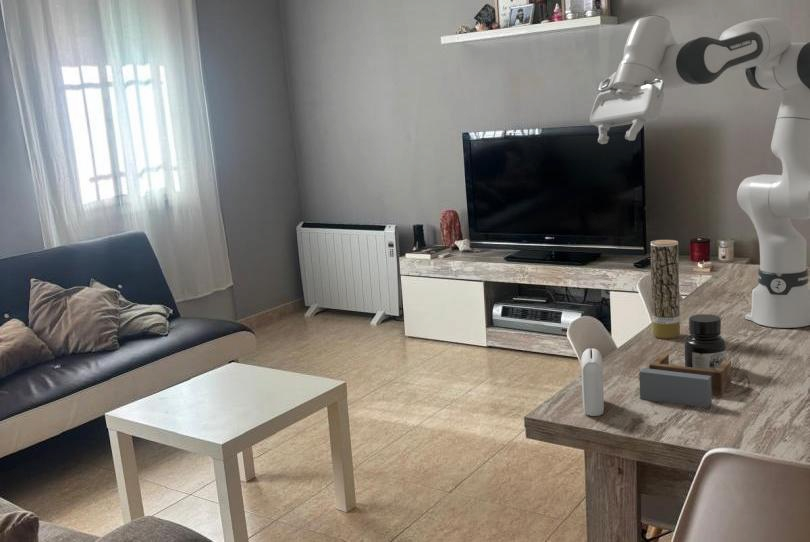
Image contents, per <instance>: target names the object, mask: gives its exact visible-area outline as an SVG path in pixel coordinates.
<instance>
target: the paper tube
mask: <svg viewBox="0 0 810 542" xmlns="http://www.w3.org/2000/svg"><path fill="white" fill-rule="evenodd" d="M679 260H680V259H679V241H678V240H675V239H655V240H652V241H650V276H651V309H652V310H651V313H652V315H651V316H652V319H651V320H652V335H653V336H654V337H656V338H657V339H666V340H667V339H668V340H669V339H674V338H676V339H677V337H679V336H680V334H681V328H680V327H681V323H680V322H681V321H680V320H681V318H680V313H681V312H680V311H681V310H680V308H681V306H680V272H679V271H680V269H679V266H680V265H679Z"/></svg>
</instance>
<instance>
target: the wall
mask: <svg viewBox="0 0 810 542" xmlns="http://www.w3.org/2000/svg"><path fill="white" fill-rule="evenodd" d="M638 375H639V399H640V400H647V401H656V402H661V403H670V404H676V405H684V406H692V407H696V408H697V407H698V408H705V409H709V407H711V405H712V403H713V402H712V400H713V399H712V395H711V376H708V375H699V374H690V373H682V372H673V371H664V370H656V369H649V368H647V367H646V368H645V367H643V368H642V369H640V370H639V374H638Z"/></svg>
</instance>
